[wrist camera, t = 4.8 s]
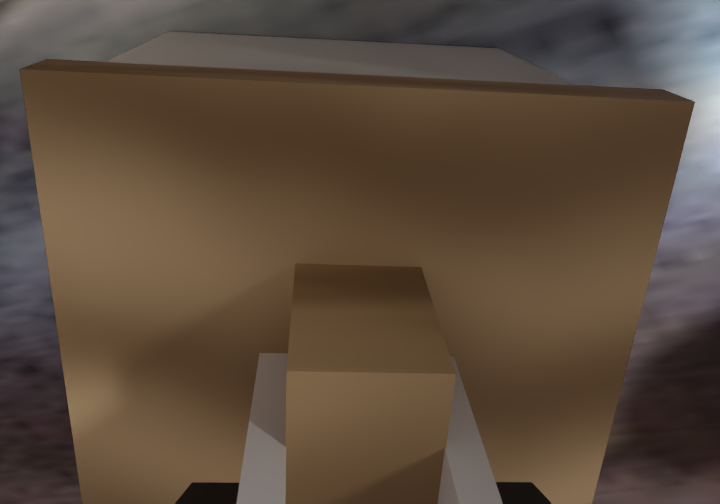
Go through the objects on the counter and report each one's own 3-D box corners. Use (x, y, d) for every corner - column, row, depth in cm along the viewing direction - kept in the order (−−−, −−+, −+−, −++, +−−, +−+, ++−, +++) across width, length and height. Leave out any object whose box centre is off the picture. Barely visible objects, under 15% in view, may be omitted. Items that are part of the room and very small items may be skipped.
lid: (47, 59, 15) (-111, 117, 10) (662, 89, 16) (840, 157, 11) (107, 535, 21) (31, 741, 15) (557, 534, 22) (637, 728, 16)
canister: (169, 31, 27) (69, 78, 16) (497, 48, 28) (615, 103, 17) (185, 324, 32) (119, 510, 21) (460, 328, 33) (532, 508, 22)
